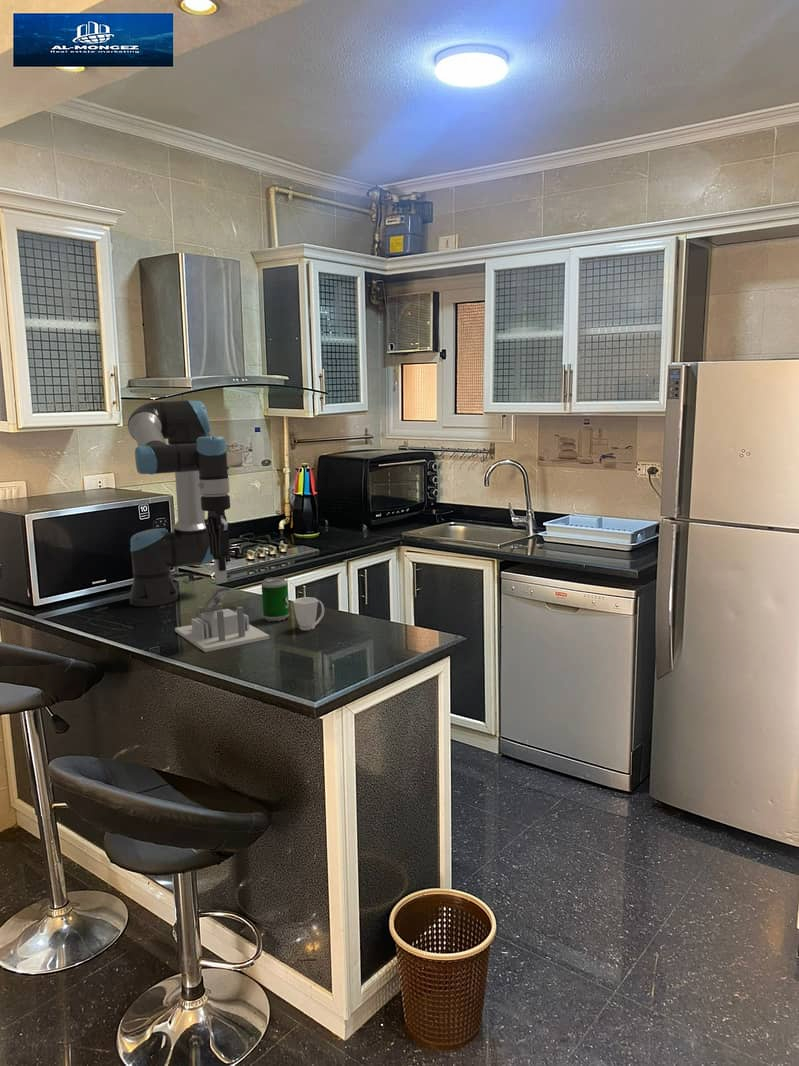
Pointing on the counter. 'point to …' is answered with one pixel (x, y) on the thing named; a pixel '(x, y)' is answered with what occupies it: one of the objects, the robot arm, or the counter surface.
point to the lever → (216, 597)
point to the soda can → (275, 599)
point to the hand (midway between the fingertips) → (221, 582)
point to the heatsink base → (220, 629)
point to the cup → (307, 612)
